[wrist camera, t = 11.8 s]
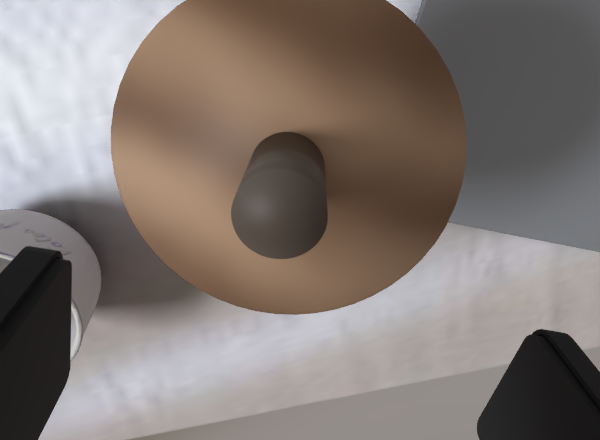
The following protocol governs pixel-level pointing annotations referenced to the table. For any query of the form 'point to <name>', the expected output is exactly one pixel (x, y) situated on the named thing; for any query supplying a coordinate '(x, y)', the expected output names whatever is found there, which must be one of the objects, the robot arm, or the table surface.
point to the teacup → (59, 236)
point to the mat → (525, 113)
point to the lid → (288, 149)
